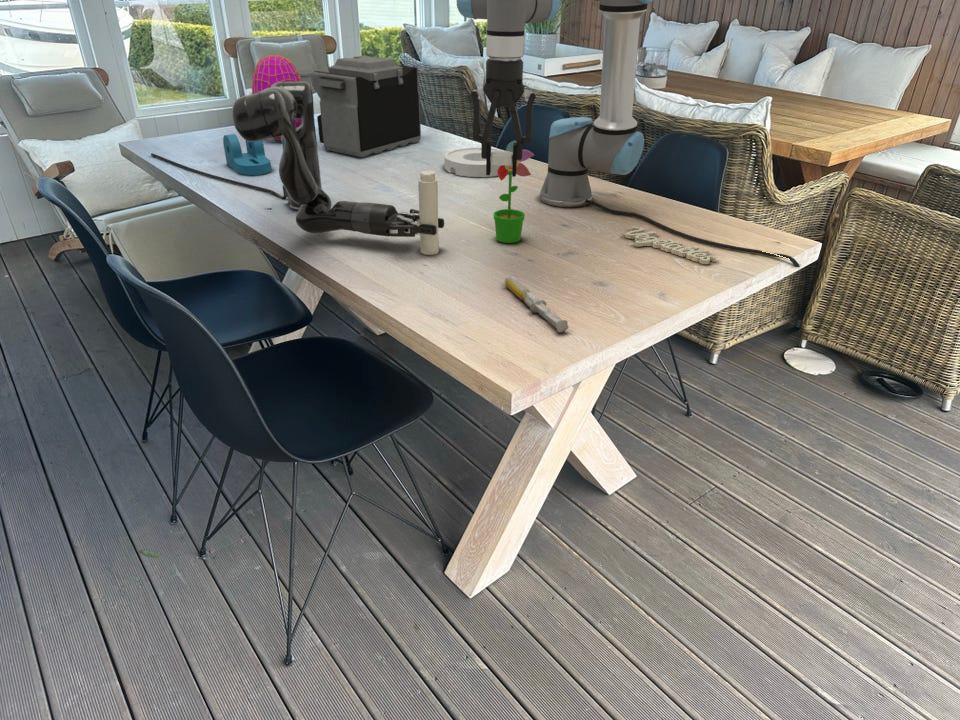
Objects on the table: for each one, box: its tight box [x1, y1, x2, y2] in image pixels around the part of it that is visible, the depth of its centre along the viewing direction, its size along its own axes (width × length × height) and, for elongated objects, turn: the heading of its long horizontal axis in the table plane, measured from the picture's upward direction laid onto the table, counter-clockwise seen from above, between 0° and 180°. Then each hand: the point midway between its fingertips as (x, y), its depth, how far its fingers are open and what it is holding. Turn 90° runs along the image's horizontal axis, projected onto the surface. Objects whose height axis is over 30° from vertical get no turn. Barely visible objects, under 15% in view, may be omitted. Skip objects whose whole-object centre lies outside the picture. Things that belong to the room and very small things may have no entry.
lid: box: [490, 150, 513, 165], centre depth 148 cm, size 5×5×2 cm
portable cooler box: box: [310, 55, 422, 159], centre depth 250 cm, size 37×22×30 cm, turn 144°
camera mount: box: [222, 133, 272, 176], centre depth 226 cm, size 18×10×10 cm, turn 35°
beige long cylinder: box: [417, 170, 440, 256], centre depth 162 cm, size 4×4×19 cm
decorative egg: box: [251, 54, 303, 142], centre depth 257 cm, size 19×19×30 cm
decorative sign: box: [624, 226, 717, 265], centre depth 170 cm, size 26×1×10 cm
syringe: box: [504, 275, 569, 334], centre depth 140 cm, size 25×4×3 cm, turn 21°
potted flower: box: [493, 139, 535, 244], centre depth 168 cm, size 9×8×25 cm
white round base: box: [443, 146, 509, 178], centre depth 232 cm, size 23×23×4 cm
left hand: (439, 226), depth 163 cm, fingers closed on beige long cylinder, 4 cm apart
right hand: (501, 174), depth 149 cm, fingers closed on lid, 5 cm apart
